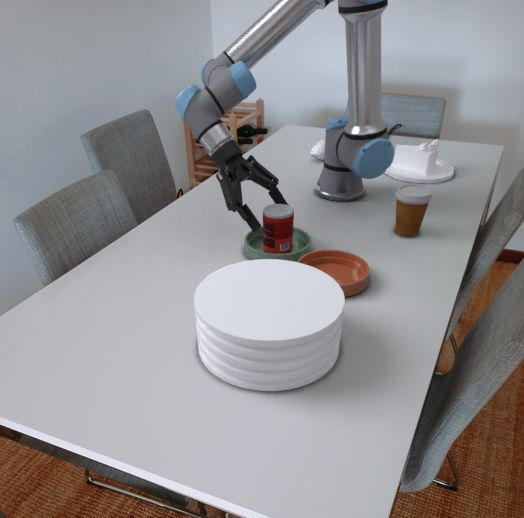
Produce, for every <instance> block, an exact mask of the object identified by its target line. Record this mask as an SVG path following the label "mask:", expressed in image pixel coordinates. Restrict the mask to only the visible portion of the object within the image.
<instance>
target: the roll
mask: <svg viewBox="0 0 524 518" xmlns="http://www.w3.org/2000/svg"><path fill="white" fill-rule="evenodd" d="M324 152H325V139H321V140H319V141H318V142H316V144H315V145H314V146H312V148H311V150H310V153H309V154H310V156H311V157H312V158H314V159H316V160H318V161H324Z"/></svg>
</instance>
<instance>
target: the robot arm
mask: <svg viewBox="0 0 524 518" xmlns="http://www.w3.org/2000/svg"><path fill="white" fill-rule="evenodd" d="M334 1H335V0H276V1H275V3H274V4H272V6H270V7H269V8H268V9H267V10H266V11H265V12H264V13H263V14H262V15H261V16H260V17H258V18H257V20H255V21H254V22H253V23H252V24H251V25H250V26H249V27H248V28H247V29H245V30H244V32H243V33H242V34H240V35H239V36H238V37H237V38H236V39H235V40H234V41H233V42H232V43H231V44H230V45H228V46H227V47H226V48H225V49H224V50H223V51H222V52H221V53H220V54H219V55H217V56H216V57H215V58H210V59H208V60H207V61H205V62H204V63H203V64H202V66H201V68H200V73H199V74H200V80H201V83H202V84H203V86H204V87H203V88H200V87H199V86H198V85H197V84H191V85H189V86H188V87H185V88H184V89H182V90H181V91H180V92H179V93H178V95H176V98H175V100H174V108H175V109H176V111H177V112H178V114H179V116H180V117H181V119H182V120H183V122H184V123H185V125H186V126H187V127H188V128H189V130H190V132H191V133H192V134H193V136H194V137H195V138H196V140H197V141H198V143H199V144H200V145H201V146H202V148H203V149H204V150H205V152H206V153H207V155H208V156H209V157H211V161H212V162H213V164H214V165H215V166H216V168H217V169H218V172H217V173H216V174H215V178H216V180H217V181H218V183H219V186H220V190H221V192H222V196H223V199H224V202H225V205H226V208H227V210H228V211H229V212H231V211H232V213H236V212H237V213H238V215H239V216H240V217H241V219H242V220H243V221H244V222H246V224H247V226H248V227H249V228H250V230H252V231H253V232H255V231H256V230H258V229H259V228H260V227H261V226H263V224H262V223H260V221H259V220H258V218H257V217H256V215H255V214H254V213H253V211H252V210H251V208H250V207H249V206H248V205H247V203H244V202H243V201H244V200H243V191H242V190H243V189H242V182H245V181H251V182H253V183H254V184H256V185H258V186H260V187H262V188H264V189H266V190H267V191H268V192H267V194H268V196H270V198H271V199H272V201H273V203H274V204H285V205H289V202H287V200H286V199H285V198H284V195H283V193H282V192H281V190H280V189H279V188H278V185H279V184H280V183H279V181H280V180H279V178H278V177H276V176H275V175H274V174H273V173H272V172H271V171H269V170H268V169H267V168H266V167H265V166H264V165H263V164H261V163H260V162H259V161H258V160H257V159H256V158H255V156H254V155H252V154H250V155H249V156H248V157H247V158H245V157H244V156H243V153H244V151H243V149H242V147H241V146H240V144H239V143H238V142H237V140H236V139H233V138H234V135H233V134H232V132H231V131H230V130H229V128H228V127H227V126H226V124H225V123H224V121H223V120H222V117H224V116H225V115H226V114H227V113H228V112H230V111H231V110H233V109H234V108H235V107H236V106H238V105H239V104H241V102H243V101H245V100H246V99H248V98H249V96H251V94H253V92H255V91H256V89H257V87H258V86H257V81H256V79H255V77H254V75H253V73H252V71H251V70H252V69H253V68H254V67H255V66H256V65H257V64H258V63H259V62H261V60H262V59H264V58H265V57H266V56H267V55H268V54H269V53H271V51H273V50H274V49H275V48H276V47H277V46H278V45H279V44H280V43H281V42H282V41H283V40H285V39H286V38H287V37H288V36H289V35H290V34H291V33H293V32H294V30H296V29H297V28H298V27H299V26H300V25H301V24H303V23H304V22H305V21H306V20H307V19H308V18H309V17H310V16H311V15H312V14H313V13H314V12H315V11H317V10H324V9H325V8H327V6H329V5H330V4H331V3H332V2H334ZM388 6H389V0H337V11H338V15H339V16H340V17H341V18H342V19H344V20H343V21H344V25H345V26H344V27H345V29H344V30H345V50H346V52H345V53H346V71H347V72H346V73H347V99H348V100H347V101H348V115H347V114H345V115H336V116H332V117H329V118H328V120H327V121H326V127H325V139H324V140H325V152H324V159H323V166H322V169H321V172H320V175H319V176H318V177H319V178H318V180H317V182H316V184H315V193H316V195H318V197H320V198H323V199H325V200H329V201H333V202H352V201H356V200H358V199H360V198H362V197H363V196H364V190H365V187H364V182H363V179H364V180H365V179H366V180H374V179H376V178H379V177H380V176H382V175H383V174H385V173H384V172H385V171H386V170H387V168H389V167H390V165H391V163H392V161H393V158H394V155H395V148H394V147H395V146H394V145H393V144H392V142H391V140H390V139H388V136H389V135H390V133H392V131H393V129H395V128H396V127H398V126H399V127H402V124H401V123H400V124H398V123H396V124H394V126H392V127H391V128H390V129H389V130H388V123H387V121H386V120H384V119H383V118H382V15H383V13H384V12H385V10H386V9H387V8H388Z"/></svg>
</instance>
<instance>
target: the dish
mask: <svg viewBox="0 0 524 518" xmlns="http://www.w3.org/2000/svg"><path fill="white" fill-rule="evenodd" d="M439 143H440V140H439V139H438V138H436V139H433V141H432V142H430V143H429V141H427V142H422V143H421V144H418V145H409V144H396V145H395V148H394V158H393V161H392V163H391V165H390V167H389V168H387V170H386V171H385V172H384V173H383V174H385V175H386V176H388V177H391V178H392V179H396V180H398V181H402V182H406V183H415V184H436V183H443V182H447V181H449V180H451V179H452V178H453V177H454V175H455V168H454V166H453V165H451V164H450V163H448V162H446V161H443V160H441V159H438V155H439V151H440V146H436V145H438V144H439Z"/></svg>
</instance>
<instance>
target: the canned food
mask: <svg viewBox="0 0 524 518" xmlns="http://www.w3.org/2000/svg"><path fill="white" fill-rule="evenodd" d="M294 220H295V209H294V207H292V206H291V205H289V204H288V205H285V204H275V203H272V204H269V205H266V206H264V207H263V209H262V226H263V250H264V252H265V253H272V254H286V253H290V252H291V250H292V243H293V227H294Z"/></svg>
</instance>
